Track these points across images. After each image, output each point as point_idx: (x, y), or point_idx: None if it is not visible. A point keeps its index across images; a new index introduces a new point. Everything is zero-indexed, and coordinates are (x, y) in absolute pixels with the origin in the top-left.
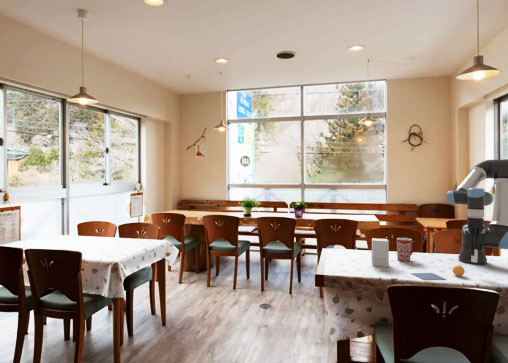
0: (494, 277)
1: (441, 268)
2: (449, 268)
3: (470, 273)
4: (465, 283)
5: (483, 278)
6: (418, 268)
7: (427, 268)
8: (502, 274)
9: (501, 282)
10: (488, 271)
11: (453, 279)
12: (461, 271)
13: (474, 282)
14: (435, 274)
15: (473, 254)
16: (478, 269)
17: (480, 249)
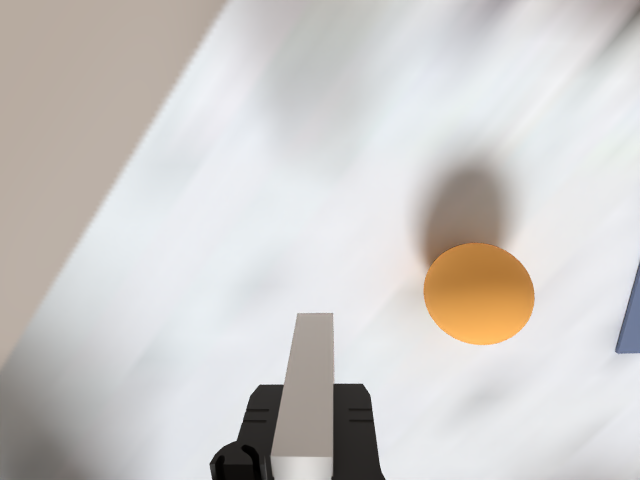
0: (174, 218)
1: (427, 458)
2: None
3: None
4: (594, 34)
5: (293, 193)
6: (603, 465)
7: (534, 463)
8: (53, 298)
9: (213, 57)
10: (117, 376)
11: (592, 172)
12: (489, 248)
13: (476, 66)
14: (631, 310)
15: (344, 399)
16: (162, 425)
17: (215, 454)
